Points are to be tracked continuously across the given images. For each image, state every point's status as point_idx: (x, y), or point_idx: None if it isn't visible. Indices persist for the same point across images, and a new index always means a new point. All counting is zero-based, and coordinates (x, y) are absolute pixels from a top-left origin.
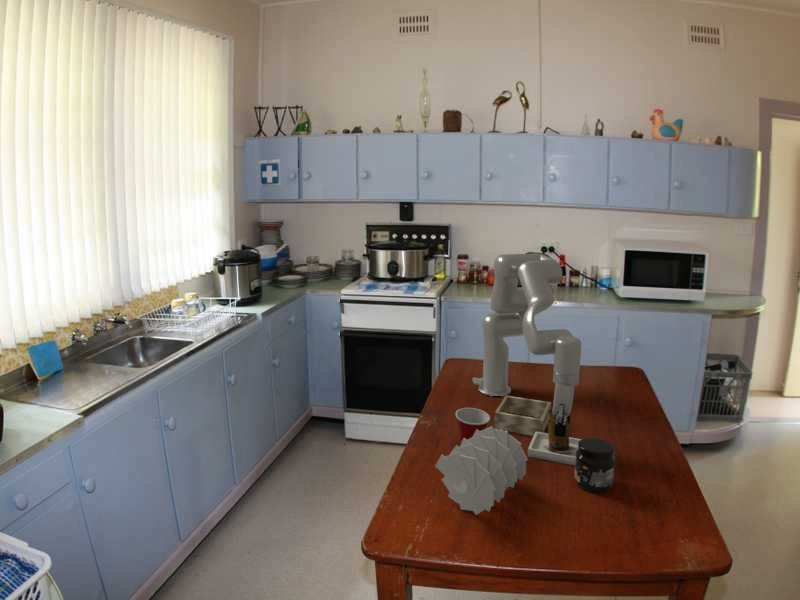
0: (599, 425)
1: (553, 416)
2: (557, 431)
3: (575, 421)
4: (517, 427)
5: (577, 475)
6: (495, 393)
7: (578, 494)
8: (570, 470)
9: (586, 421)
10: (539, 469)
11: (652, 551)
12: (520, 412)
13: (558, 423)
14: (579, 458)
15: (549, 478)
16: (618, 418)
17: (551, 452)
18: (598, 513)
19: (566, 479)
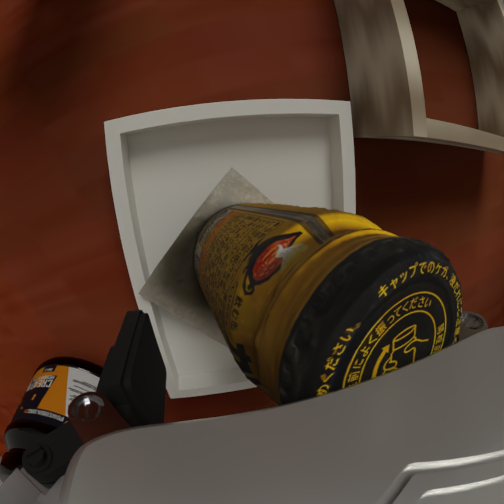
0: (470, 302)
1: (267, 335)
2: (109, 359)
3: (483, 234)
4: (353, 16)
5: (28, 386)
6: (502, 2)
7: (17, 368)
8: (112, 330)
9: (485, 264)
10: (43, 222)
11: (7, 451)
12: (472, 49)
13: (68, 431)
14: (5, 436)
15: (17, 278)
16: (492, 322)
17: (135, 252)
18: (3, 403)
19: (50, 330)
